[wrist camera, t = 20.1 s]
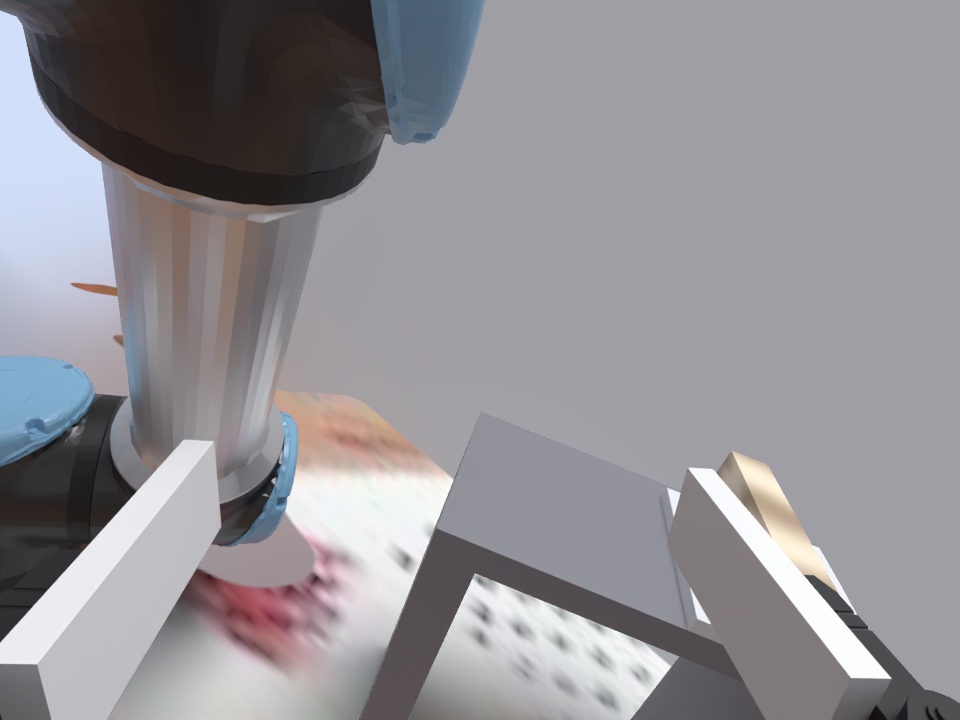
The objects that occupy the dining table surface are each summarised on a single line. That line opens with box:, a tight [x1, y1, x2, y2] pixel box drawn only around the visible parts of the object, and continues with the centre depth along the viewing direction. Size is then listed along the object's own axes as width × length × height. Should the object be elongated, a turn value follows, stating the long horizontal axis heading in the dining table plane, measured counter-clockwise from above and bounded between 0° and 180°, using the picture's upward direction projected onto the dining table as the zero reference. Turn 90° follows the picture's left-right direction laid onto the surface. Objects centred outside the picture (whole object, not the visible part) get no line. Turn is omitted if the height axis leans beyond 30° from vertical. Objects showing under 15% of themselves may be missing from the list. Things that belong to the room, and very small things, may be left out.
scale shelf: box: [359, 412, 857, 720], centre depth 42 cm, size 14×29×31 cm, turn 79°
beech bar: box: [717, 451, 839, 594], centre depth 30 cm, size 28×3×3 cm, turn 169°
